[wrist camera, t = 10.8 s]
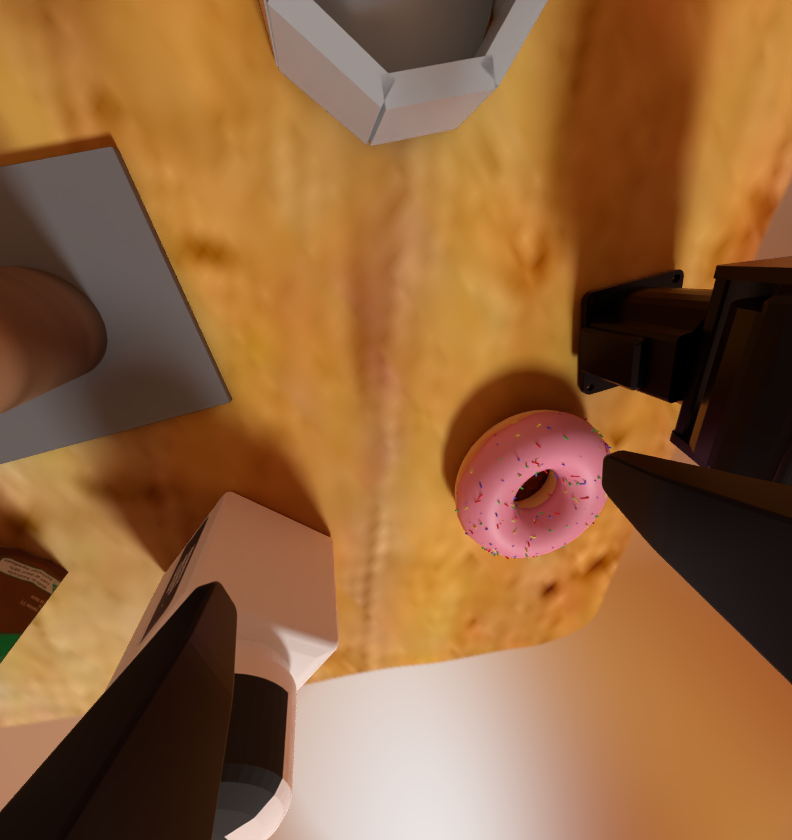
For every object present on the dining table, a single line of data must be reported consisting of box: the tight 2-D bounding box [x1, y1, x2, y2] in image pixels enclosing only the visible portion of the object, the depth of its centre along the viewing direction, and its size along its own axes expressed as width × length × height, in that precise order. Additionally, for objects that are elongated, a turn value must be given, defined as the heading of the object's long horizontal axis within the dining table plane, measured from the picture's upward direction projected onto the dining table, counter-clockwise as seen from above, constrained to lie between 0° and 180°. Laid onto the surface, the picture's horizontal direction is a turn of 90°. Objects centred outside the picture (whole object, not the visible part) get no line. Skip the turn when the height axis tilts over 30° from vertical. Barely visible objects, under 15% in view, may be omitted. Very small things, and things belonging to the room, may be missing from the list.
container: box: [106, 492, 339, 840], centre depth 17 cm, size 8×8×13 cm
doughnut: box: [455, 410, 611, 559], centre depth 23 cm, size 11×11×4 cm
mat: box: [0, 146, 232, 464], centre depth 15 cm, size 12×11×1 cm
